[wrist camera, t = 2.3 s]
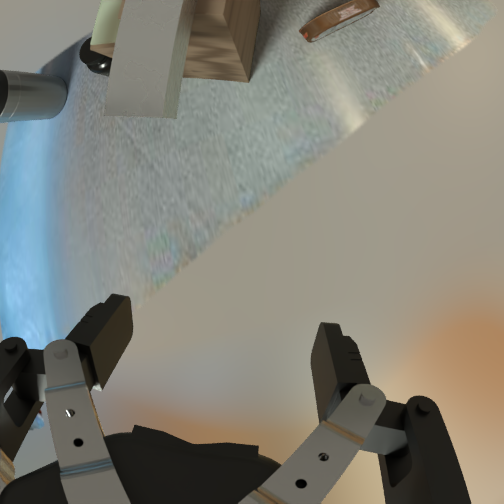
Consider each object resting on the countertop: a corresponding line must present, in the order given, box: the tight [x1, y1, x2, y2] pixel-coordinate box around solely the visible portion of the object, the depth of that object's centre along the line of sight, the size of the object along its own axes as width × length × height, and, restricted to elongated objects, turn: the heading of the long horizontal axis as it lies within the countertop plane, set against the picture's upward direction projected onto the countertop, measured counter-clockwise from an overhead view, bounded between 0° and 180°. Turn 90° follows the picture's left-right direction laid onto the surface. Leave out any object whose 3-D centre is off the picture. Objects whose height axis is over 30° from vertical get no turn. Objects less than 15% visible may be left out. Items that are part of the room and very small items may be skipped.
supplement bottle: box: [79, 37, 112, 77], centre depth 39 cm, size 7×7×12 cm
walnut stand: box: [90, 0, 261, 83], centre depth 28 cm, size 16×14×32 cm
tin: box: [299, 0, 380, 42], centre depth 37 cm, size 15×3×8 cm, turn 125°
